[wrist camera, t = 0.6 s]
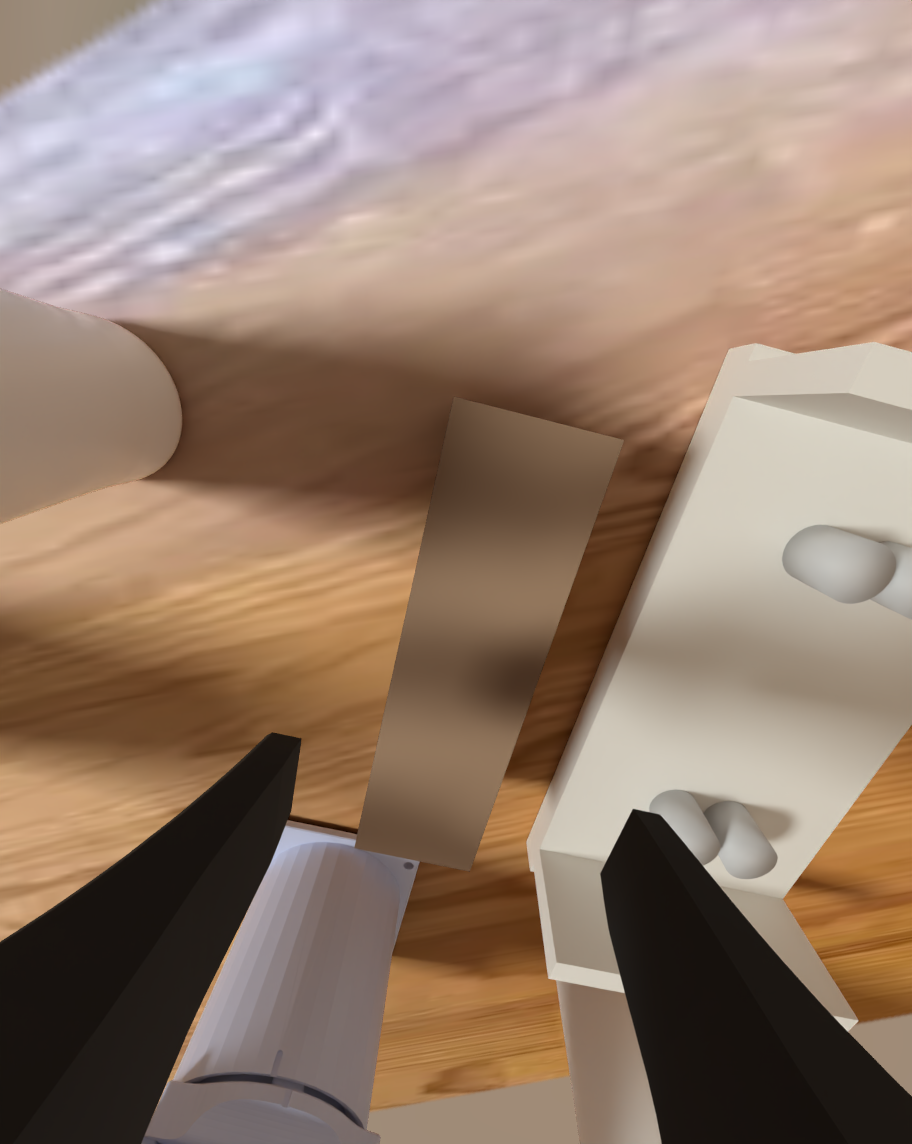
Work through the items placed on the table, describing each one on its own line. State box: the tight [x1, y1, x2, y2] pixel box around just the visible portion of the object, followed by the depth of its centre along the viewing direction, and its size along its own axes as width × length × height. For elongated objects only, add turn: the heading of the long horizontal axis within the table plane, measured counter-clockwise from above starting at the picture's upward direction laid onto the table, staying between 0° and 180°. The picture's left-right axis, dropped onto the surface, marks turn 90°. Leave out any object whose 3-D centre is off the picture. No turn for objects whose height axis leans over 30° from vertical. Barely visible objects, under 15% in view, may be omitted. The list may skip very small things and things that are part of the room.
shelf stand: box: [526, 342, 912, 1031], centre depth 16 cm, size 23×12×6 cm, turn 167°
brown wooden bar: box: [354, 397, 624, 872], centre depth 16 cm, size 16×4×5 cm, turn 167°
